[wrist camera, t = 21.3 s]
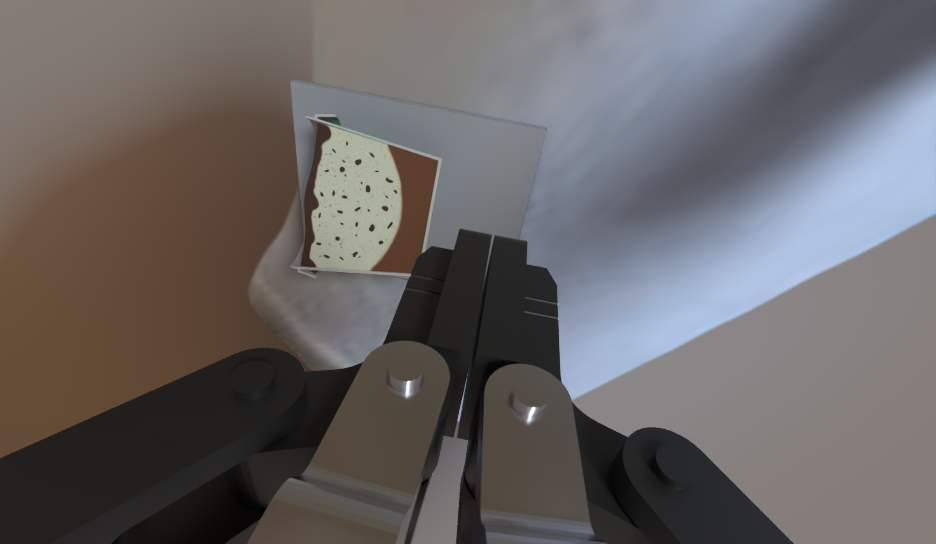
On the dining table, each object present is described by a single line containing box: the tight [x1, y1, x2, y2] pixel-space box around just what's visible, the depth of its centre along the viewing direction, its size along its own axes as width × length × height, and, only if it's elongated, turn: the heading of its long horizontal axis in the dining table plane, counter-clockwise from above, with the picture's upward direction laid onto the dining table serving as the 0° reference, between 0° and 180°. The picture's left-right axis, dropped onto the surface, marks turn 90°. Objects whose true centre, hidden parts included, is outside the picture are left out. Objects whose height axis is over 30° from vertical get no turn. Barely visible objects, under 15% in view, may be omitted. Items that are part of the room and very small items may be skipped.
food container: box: [290, 114, 442, 278], centre depth 37 cm, size 12×6×10 cm
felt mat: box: [290, 80, 546, 286], centre depth 40 cm, size 20×17×1 cm
